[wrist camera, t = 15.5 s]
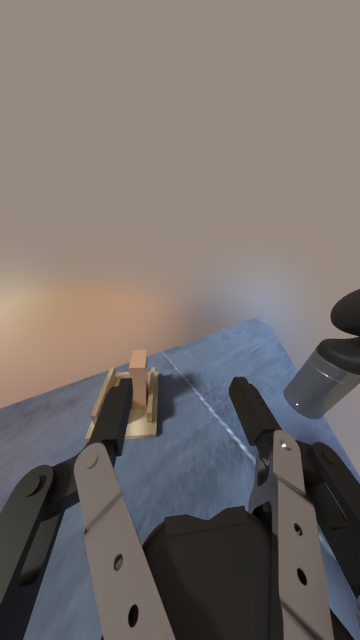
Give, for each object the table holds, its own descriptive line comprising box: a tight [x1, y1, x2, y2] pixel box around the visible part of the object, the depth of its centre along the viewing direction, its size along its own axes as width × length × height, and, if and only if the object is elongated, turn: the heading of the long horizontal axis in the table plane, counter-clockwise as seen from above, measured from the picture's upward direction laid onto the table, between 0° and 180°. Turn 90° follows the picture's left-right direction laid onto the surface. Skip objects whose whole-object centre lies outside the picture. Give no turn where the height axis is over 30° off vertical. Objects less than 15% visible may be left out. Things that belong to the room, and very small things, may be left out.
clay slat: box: [129, 350, 148, 408], centre depth 33 cm, size 3×5×14 cm, turn 7°
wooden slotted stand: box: [85, 367, 159, 442], centre depth 35 cm, size 14×16×6 cm
